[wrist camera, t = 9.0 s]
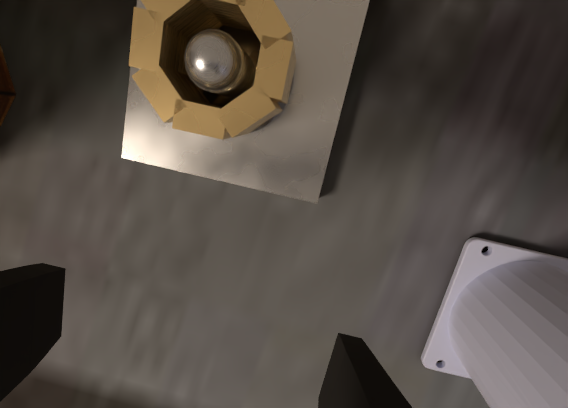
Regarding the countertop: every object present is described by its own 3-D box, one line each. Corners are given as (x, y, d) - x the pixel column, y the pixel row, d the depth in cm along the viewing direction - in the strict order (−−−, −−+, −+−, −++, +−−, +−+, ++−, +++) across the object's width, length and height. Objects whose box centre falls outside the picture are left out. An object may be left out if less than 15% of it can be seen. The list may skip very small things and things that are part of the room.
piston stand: (370, -12, 15) (412, -95, 9) (316, 198, 18) (321, 239, 12) (154, -62, 15) (58, -175, 9) (131, 155, 18) (44, 174, 12)
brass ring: (305, 15, 14) (305, -18, 10) (279, 143, 15) (271, 150, 12) (180, -12, 14) (139, -55, 10) (164, 117, 15) (123, 117, 12)
